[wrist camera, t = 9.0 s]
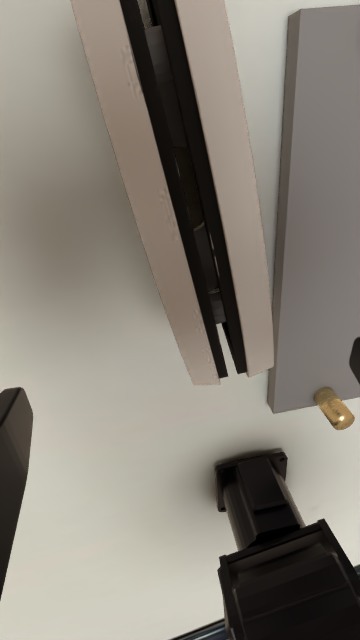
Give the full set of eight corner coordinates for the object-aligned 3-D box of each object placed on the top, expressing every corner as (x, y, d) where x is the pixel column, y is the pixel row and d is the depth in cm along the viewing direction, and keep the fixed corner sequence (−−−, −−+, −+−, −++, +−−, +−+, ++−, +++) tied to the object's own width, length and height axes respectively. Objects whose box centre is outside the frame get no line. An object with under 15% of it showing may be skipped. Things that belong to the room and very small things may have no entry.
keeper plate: (359, 385, 29) (392, 421, 25) (267, 403, 28) (289, 442, 24) (447, 4, 16) (535, -28, 13) (288, 16, 16) (337, -13, 12)
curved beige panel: (256, 299, 23) (314, 411, 14) (187, 317, 23) (204, 435, 15) (201, -41, 14) (267, -261, 6) (94, -4, 15) (8, -160, 6)
